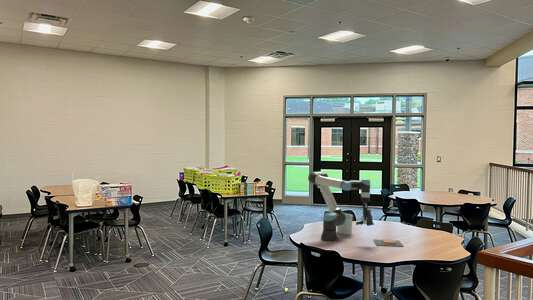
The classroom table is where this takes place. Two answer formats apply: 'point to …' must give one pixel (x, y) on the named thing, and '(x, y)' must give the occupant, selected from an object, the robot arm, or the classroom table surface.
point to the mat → (380, 243)
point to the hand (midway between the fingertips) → (364, 223)
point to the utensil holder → (346, 226)
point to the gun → (369, 219)
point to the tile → (388, 241)
